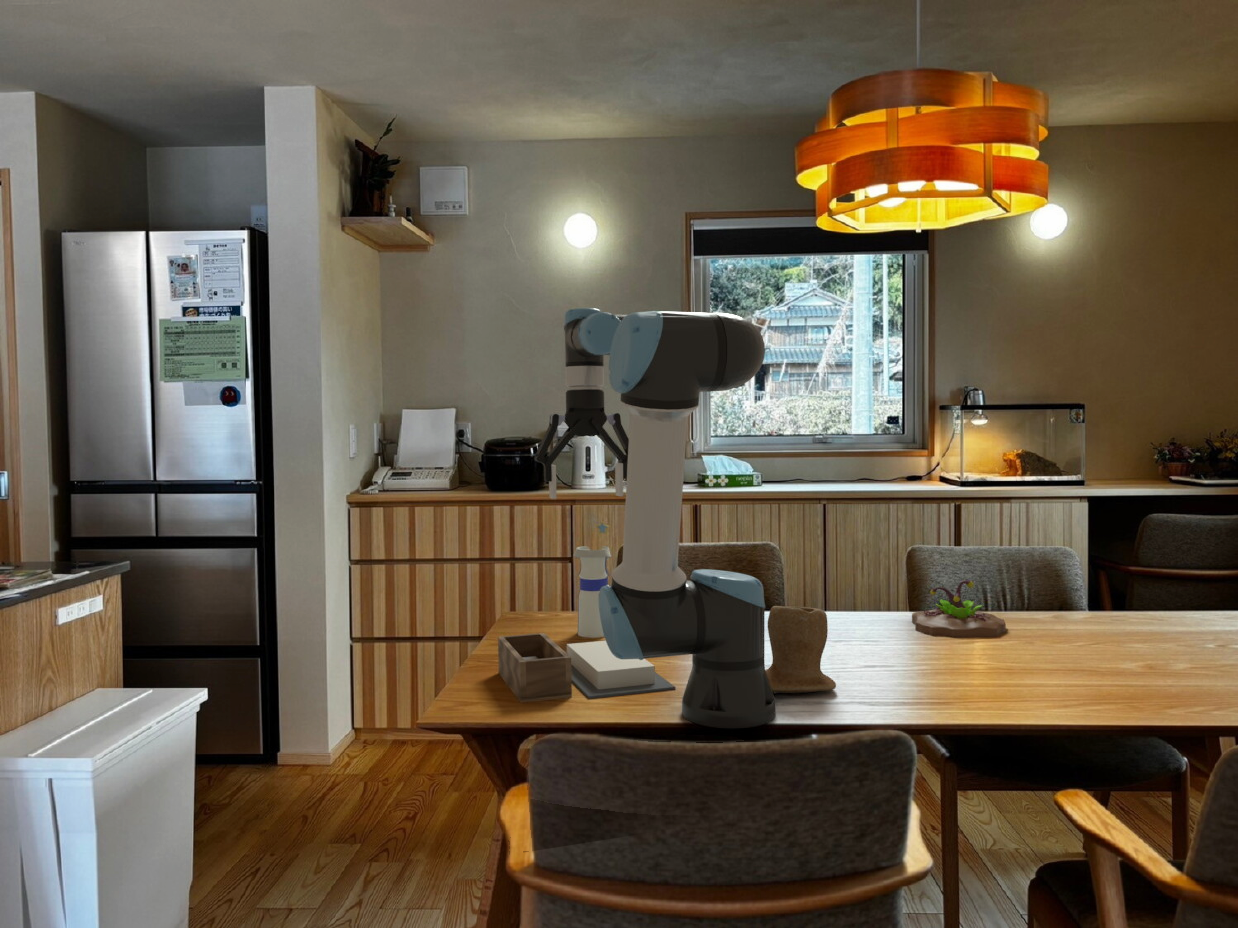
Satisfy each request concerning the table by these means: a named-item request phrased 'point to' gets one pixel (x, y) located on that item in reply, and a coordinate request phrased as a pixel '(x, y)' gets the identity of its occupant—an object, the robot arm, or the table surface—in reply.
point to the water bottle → (591, 587)
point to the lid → (609, 666)
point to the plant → (957, 618)
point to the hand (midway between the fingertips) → (586, 497)
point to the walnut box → (534, 667)
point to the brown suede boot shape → (797, 650)
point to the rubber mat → (593, 692)
